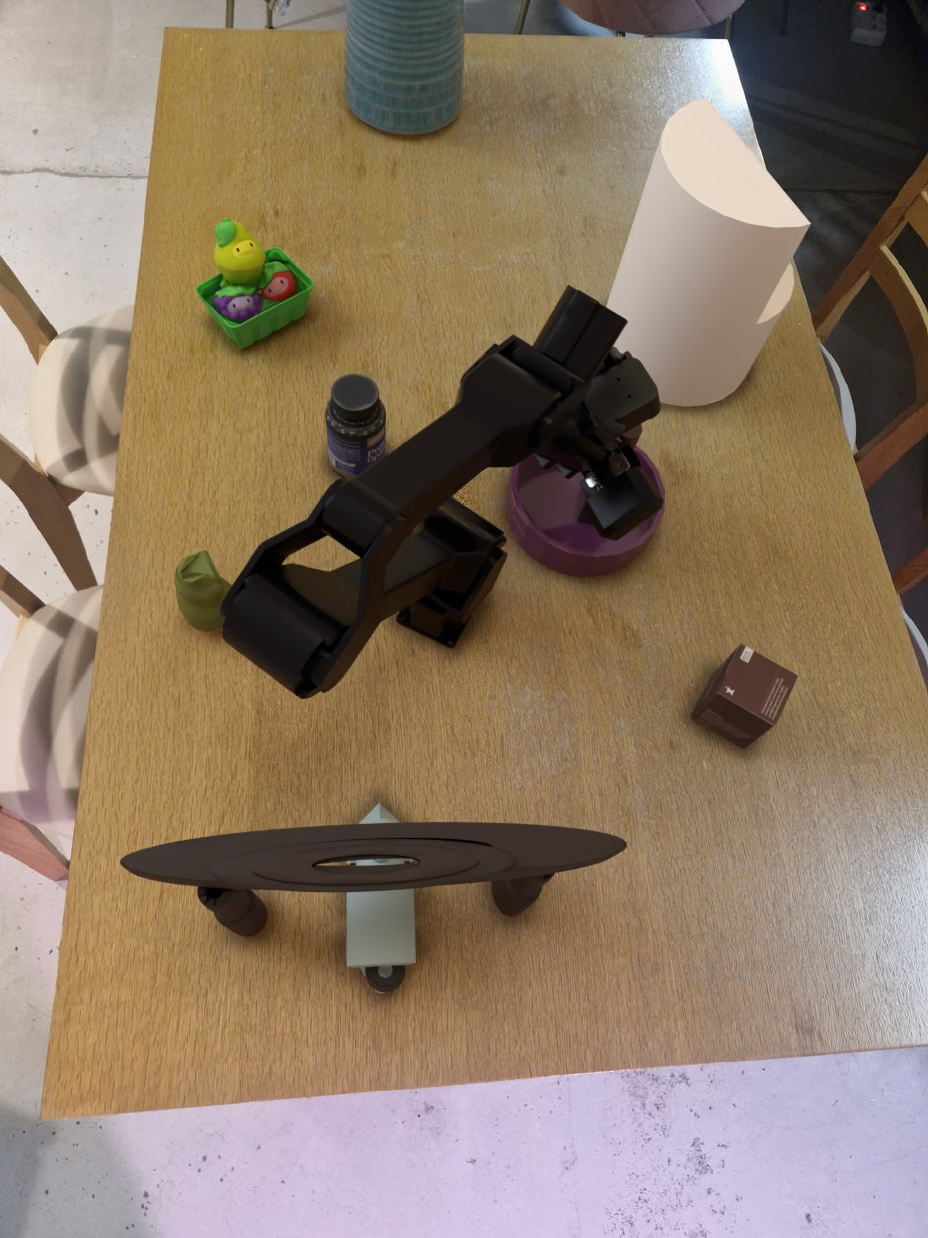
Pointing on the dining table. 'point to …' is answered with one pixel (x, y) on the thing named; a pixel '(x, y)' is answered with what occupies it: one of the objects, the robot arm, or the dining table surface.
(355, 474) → the pill bottle
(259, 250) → the fruit basket
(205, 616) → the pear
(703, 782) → the dining table surface
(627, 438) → the hammer
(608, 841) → the round plant dolly
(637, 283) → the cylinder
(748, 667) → the box
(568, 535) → the bowl
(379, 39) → the vase
